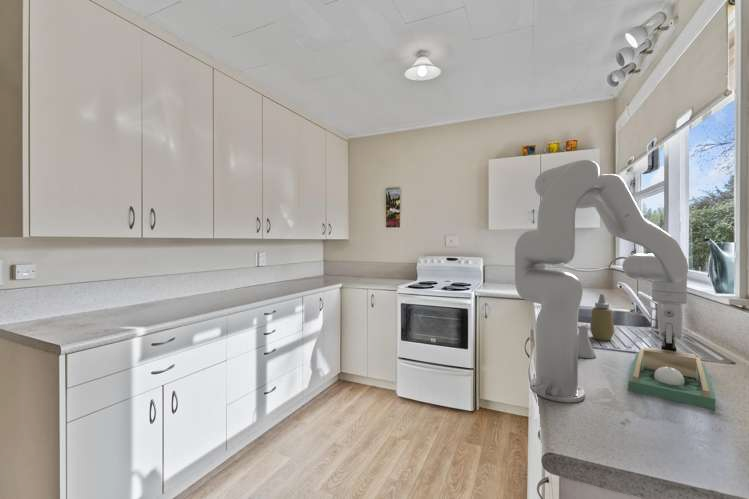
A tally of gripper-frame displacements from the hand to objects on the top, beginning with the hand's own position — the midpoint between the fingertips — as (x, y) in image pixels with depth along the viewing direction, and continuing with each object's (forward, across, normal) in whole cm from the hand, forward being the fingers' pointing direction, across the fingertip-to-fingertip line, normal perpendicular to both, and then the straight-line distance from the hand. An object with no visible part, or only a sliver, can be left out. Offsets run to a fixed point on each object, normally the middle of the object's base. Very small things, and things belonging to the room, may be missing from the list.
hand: (668, 360), depth 96 cm
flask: (+5, +5, +22) cm, 23 cm away
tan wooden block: (+2, -4, 0) cm, 5 cm away
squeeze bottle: (+5, +32, +20) cm, 38 cm away
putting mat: (+5, -4, 0) cm, 6 cm away
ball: (+2, -12, 0) cm, 12 cm away
